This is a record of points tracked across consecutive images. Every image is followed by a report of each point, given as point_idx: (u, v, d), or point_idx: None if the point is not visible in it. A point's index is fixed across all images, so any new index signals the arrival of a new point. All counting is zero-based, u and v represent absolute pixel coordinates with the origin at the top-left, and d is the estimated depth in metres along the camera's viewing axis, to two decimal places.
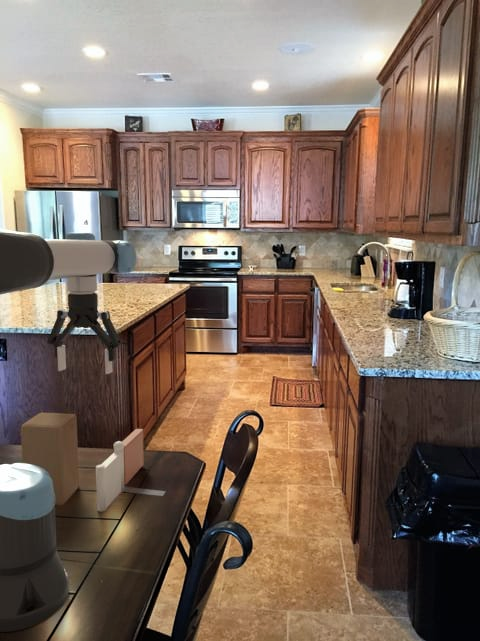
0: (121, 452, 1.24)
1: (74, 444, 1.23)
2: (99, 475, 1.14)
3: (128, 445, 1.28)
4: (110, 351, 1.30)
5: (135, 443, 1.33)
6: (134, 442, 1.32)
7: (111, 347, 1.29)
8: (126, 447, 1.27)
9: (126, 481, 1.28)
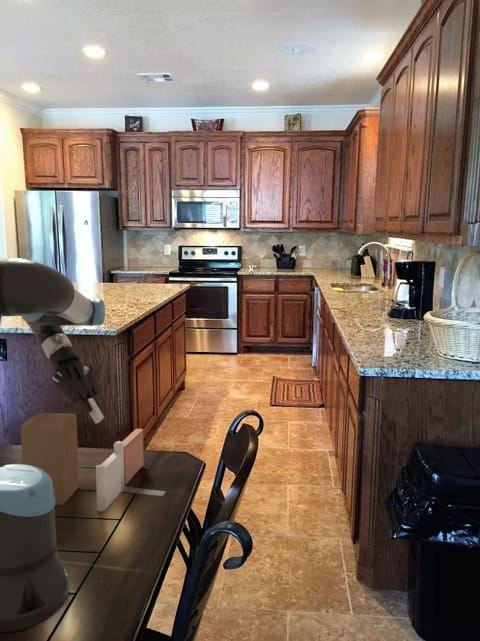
0: (121, 452, 1.24)
1: (74, 444, 1.23)
2: (99, 475, 1.14)
3: (128, 445, 1.28)
4: None
5: (135, 443, 1.33)
6: (134, 442, 1.32)
7: (81, 404, 1.38)
8: (126, 447, 1.27)
9: (126, 481, 1.28)
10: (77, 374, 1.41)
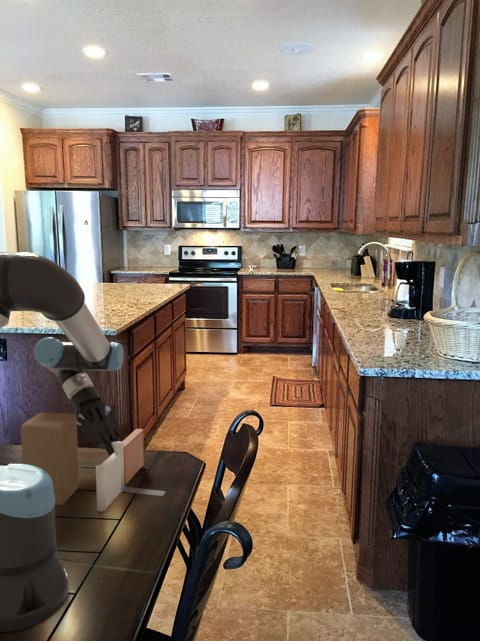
0: (121, 452, 1.24)
1: (74, 444, 1.23)
2: (99, 475, 1.14)
3: (128, 445, 1.28)
4: None
5: (135, 443, 1.33)
6: (134, 442, 1.32)
7: (103, 447, 1.34)
8: (126, 447, 1.27)
9: (126, 481, 1.28)
10: (99, 416, 1.37)
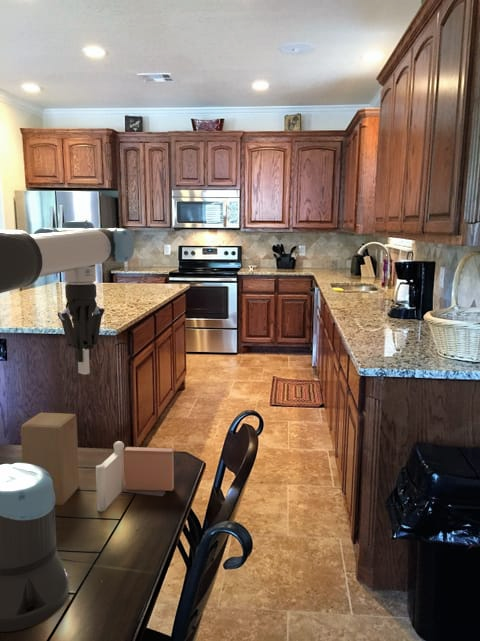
0: (121, 452, 1.24)
1: (74, 444, 1.23)
2: (99, 475, 1.14)
3: (132, 452, 1.23)
4: None
5: (151, 458, 1.23)
6: (148, 456, 1.23)
7: None
8: (127, 452, 1.23)
9: (127, 486, 1.25)
10: (85, 317, 1.27)
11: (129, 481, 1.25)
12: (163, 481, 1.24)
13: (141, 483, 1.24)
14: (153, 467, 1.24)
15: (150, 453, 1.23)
